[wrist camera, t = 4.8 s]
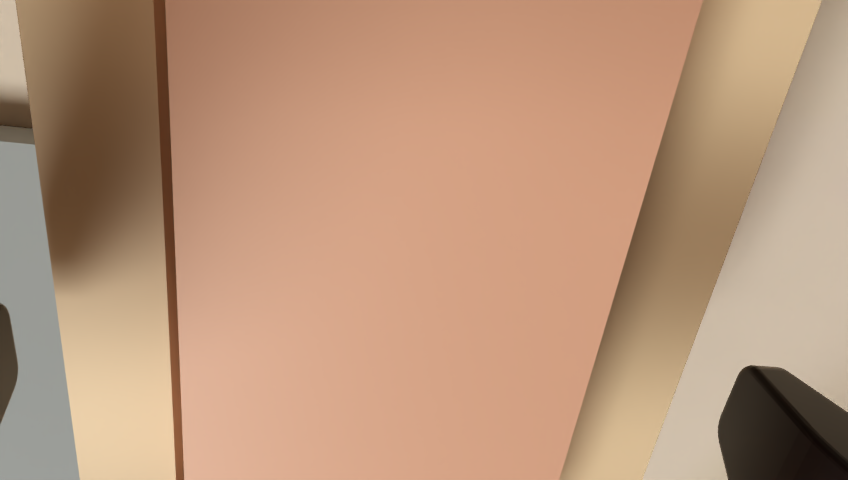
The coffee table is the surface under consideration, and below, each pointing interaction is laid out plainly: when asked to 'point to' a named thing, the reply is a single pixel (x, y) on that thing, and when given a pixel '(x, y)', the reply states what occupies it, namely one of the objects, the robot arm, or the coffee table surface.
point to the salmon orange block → (404, 225)
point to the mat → (31, 325)
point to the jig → (155, 239)
